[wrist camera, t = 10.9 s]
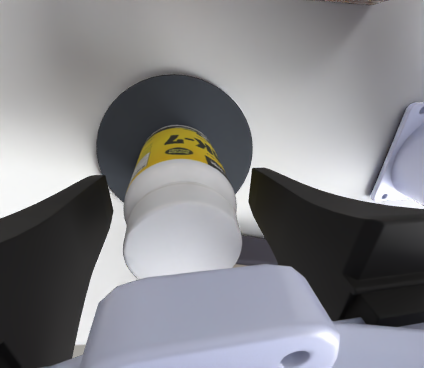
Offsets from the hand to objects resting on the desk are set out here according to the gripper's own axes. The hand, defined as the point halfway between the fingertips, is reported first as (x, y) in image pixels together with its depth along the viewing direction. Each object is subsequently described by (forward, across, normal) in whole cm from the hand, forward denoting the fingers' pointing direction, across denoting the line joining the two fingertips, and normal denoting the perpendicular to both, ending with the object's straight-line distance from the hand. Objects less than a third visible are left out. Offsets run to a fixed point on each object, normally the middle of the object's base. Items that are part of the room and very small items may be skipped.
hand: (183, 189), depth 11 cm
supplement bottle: (+4, 0, 0) cm, 4 cm away
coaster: (+4, 0, 0) cm, 4 cm away
